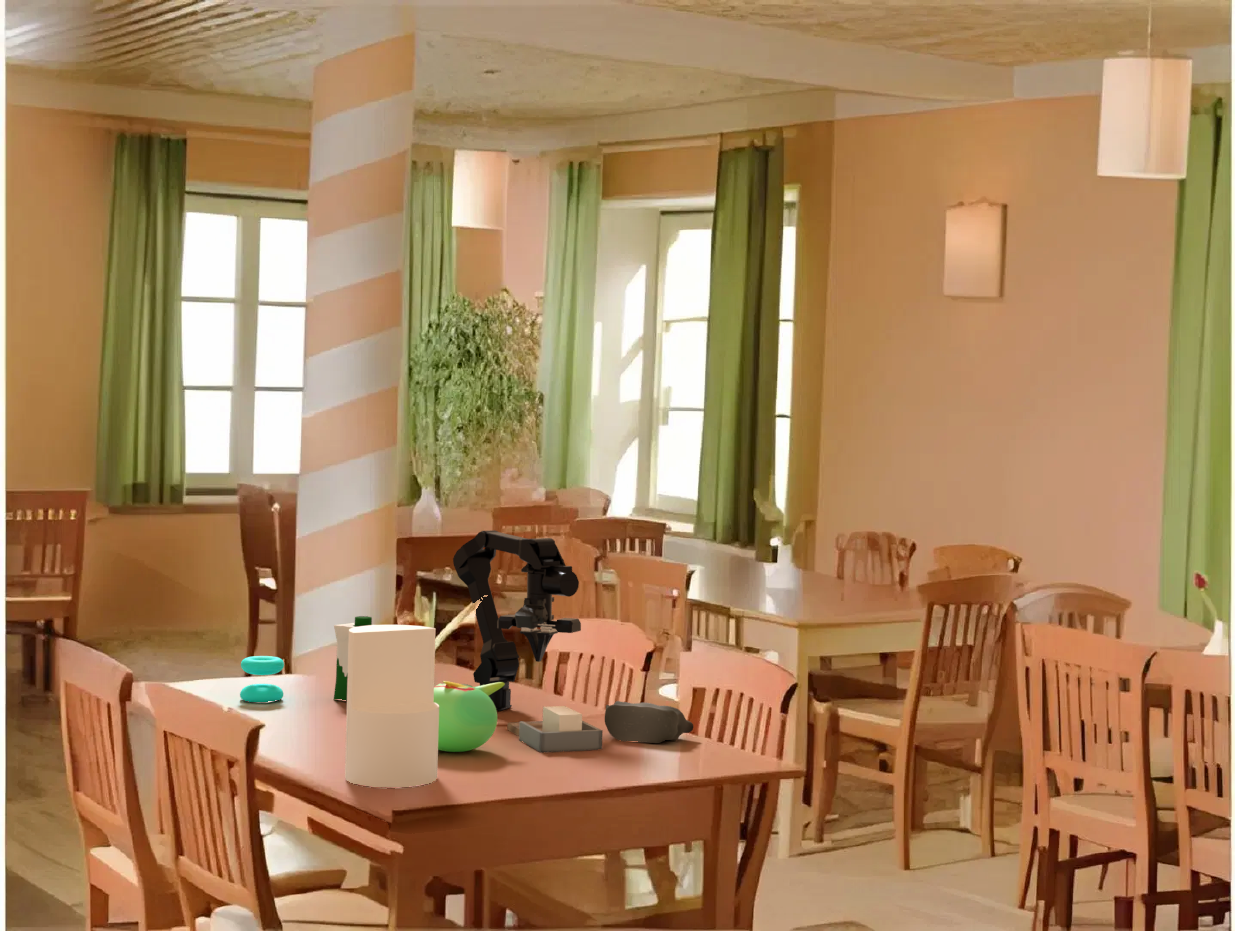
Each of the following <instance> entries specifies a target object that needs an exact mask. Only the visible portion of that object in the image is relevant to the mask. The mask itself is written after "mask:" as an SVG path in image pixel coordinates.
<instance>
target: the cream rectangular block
mask: <svg viewBox="0 0 1235 931" xmlns="http://www.w3.org/2000/svg"><path fill="white" fill-rule="evenodd" d="M542 708H543V709H542V721H543V727H542V732H560V731H582V721H583V713H581V712H579V711H576V710H575V709H572V708H570V707H568V706H566V705H553V706H542Z"/></svg>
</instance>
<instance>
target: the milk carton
mask: <svg viewBox="0 0 1235 931" xmlns="http://www.w3.org/2000/svg"><path fill="white" fill-rule="evenodd" d="M372 620H373V618H372V616H368V615H367V616H366V615H364V616H363V615H360V616H354V622H351V623H350V622H349V623H343V624H342V623H340V624H334V625H333V627H334V633H335V639H336V663H335V666H336V667H335V668H336V670H335V673H336V674H335V686H334V695H333V700H334V699H342V700H346V701H347V680H348V643H349V629H351V628H354V627H359V626H368V625H374V624H373V621H372Z"/></svg>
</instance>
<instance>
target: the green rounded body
mask: <svg viewBox="0 0 1235 931" xmlns="http://www.w3.org/2000/svg"><path fill="white" fill-rule="evenodd" d="M504 685H505V683H503V682H497V683H491V684H486V685H482V686H480V685H478V686H477V685H476V686H473V685H470V684H468V683H467V684H466V683H457V682H454V681H453V682H452V681H448V680H442V683H438V684H437V685H434V703H437V704H438V705H439V732H438V751H442V752H447V753H462V752H468V751H473V750H475V749H478V748H480V747H481V746H483V745H484V744H486V743H487V742H488V741H489V740H490V738H492V736H493V734H494V733H495V730H496V728H497V725H498V712H497V710H496V707H495V705H494V703H493V701H492V700H491V699H490V697H489V695H490V694H492V693H494V692H495V691H497V690H499V689H500V688H502V687H503V686H504Z"/></svg>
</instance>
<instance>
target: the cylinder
mask: <svg viewBox="0 0 1235 931" xmlns="http://www.w3.org/2000/svg"><path fill="white" fill-rule="evenodd" d="M436 630H437V629H436V628H435V627H431V626H423V625H410V624H373V625H368V626H359V627H354V628H351V629H349V643H348V680H347V702H346V720H345V721H346V726H345V729H346V730H345V757H344V758H345V759H344V760H345V761H344V763H345V765H344V779H345V778H346V780H347V781H349V782H350V783H349V782H348V783H349V784H351V783H353V784H352V785H354V784H360V785H366V786H372V787H409V786H416V785H421V784H428V785H430V784H429V783H431V784H433V783H434V782H433V781H435V780H436V778H437V779H438V763H439V760H438V758H439V756H438V755H439V750H438V732H439V705H438V704H437V703H434V686H435V667H436V665H435V663H436V662H435V660H436V658H435V657H436ZM346 780H345V781H346ZM347 781H346V782H347ZM436 781H437V780H436ZM436 781H435V782H436ZM432 782H433V783H432Z"/></svg>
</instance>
